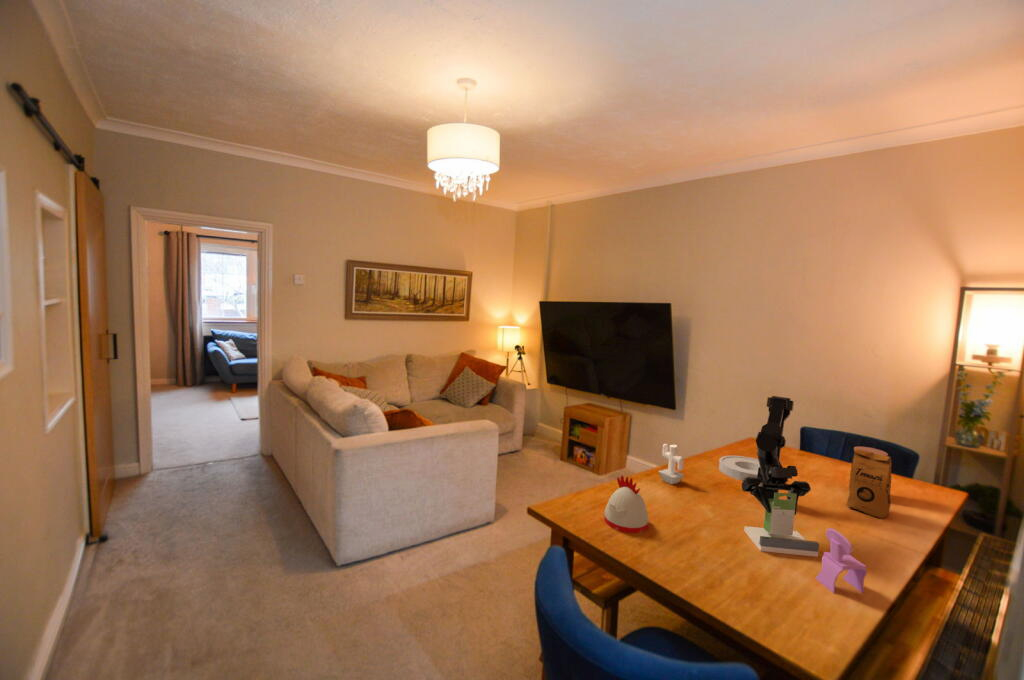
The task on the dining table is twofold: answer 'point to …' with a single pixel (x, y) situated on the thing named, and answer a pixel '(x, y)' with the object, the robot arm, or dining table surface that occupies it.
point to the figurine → (672, 465)
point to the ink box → (780, 514)
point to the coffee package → (870, 483)
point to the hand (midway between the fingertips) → (782, 513)
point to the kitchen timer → (626, 508)
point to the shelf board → (782, 542)
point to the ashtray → (739, 467)
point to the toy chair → (840, 563)
